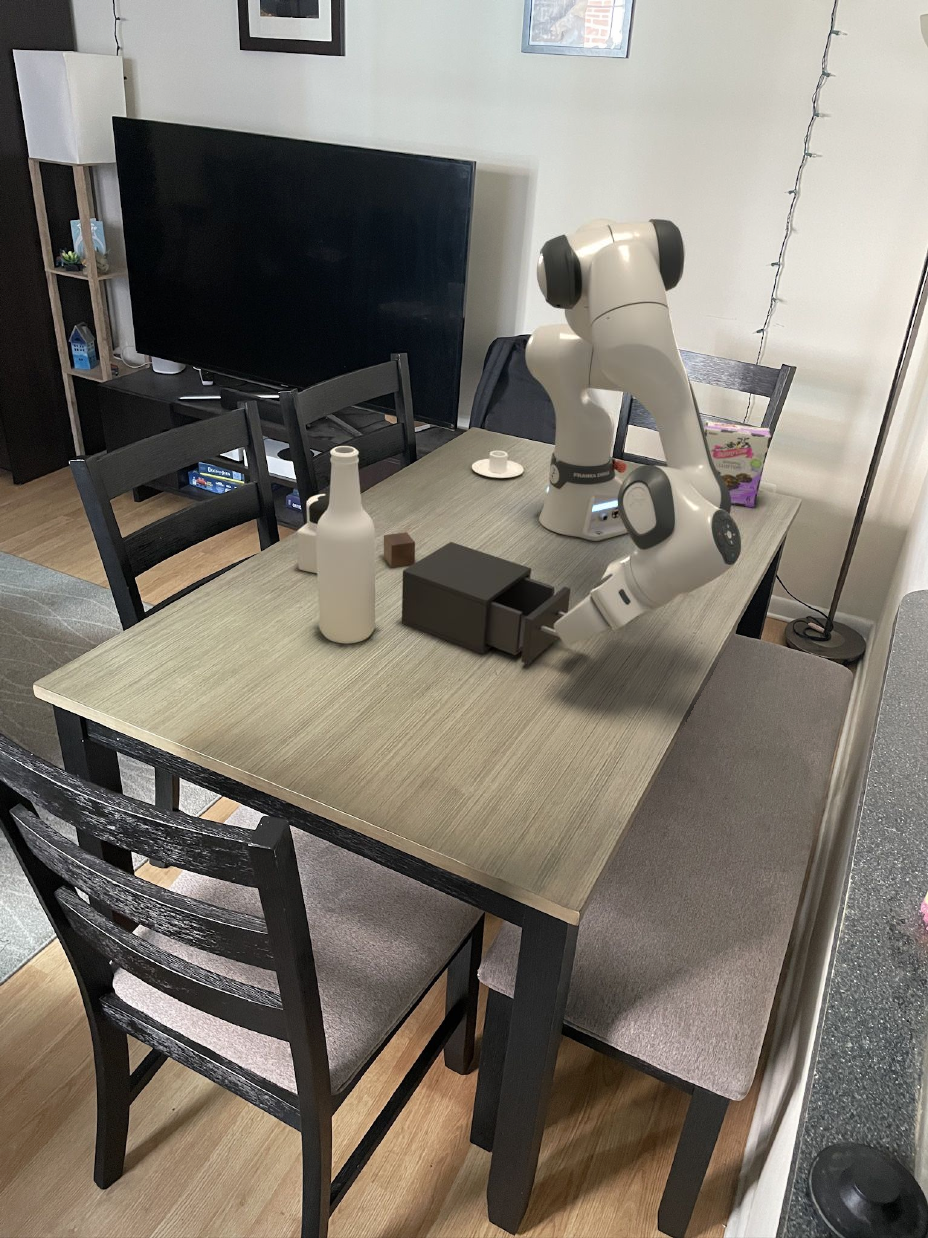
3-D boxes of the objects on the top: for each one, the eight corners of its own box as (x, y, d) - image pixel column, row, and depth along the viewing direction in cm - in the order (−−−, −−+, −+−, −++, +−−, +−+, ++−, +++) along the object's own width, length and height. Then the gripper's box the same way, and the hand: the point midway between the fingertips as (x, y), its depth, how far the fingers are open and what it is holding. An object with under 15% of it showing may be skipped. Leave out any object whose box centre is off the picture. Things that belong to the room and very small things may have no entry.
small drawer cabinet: (526, 619, 148) (531, 568, 143) (482, 654, 138) (486, 600, 133) (448, 591, 155) (450, 541, 150) (401, 622, 145) (402, 570, 140)
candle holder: (474, 459, 212) (475, 442, 210) (524, 464, 211) (526, 446, 209) (469, 478, 202) (470, 459, 199) (522, 482, 201) (523, 464, 199)
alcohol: (385, 636, 141) (386, 455, 126) (334, 650, 137) (329, 464, 121) (359, 612, 147) (358, 436, 132) (310, 624, 143) (303, 444, 128)
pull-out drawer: (593, 641, 141) (599, 598, 137) (556, 676, 132) (562, 631, 128) (489, 603, 150) (492, 562, 146) (448, 633, 141) (450, 590, 137)
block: (406, 554, 167) (406, 532, 164) (414, 564, 163) (415, 542, 161) (383, 557, 165) (383, 534, 163) (391, 567, 161) (391, 545, 159)
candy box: (690, 499, 197) (704, 427, 189) (691, 489, 202) (704, 419, 194) (754, 508, 195) (771, 435, 187) (753, 498, 200) (770, 427, 192)
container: (355, 560, 163) (355, 494, 157) (337, 578, 157) (335, 510, 150) (317, 552, 165) (315, 487, 159) (297, 570, 159) (294, 502, 152)
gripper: (652, 541, 133) (585, 579, 142) (591, 592, 118) (521, 631, 127) (675, 577, 133) (606, 613, 142) (617, 632, 118) (545, 668, 127)
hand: (565, 622), depth 135 cm, fingers closed, pressing on pull-out drawer
